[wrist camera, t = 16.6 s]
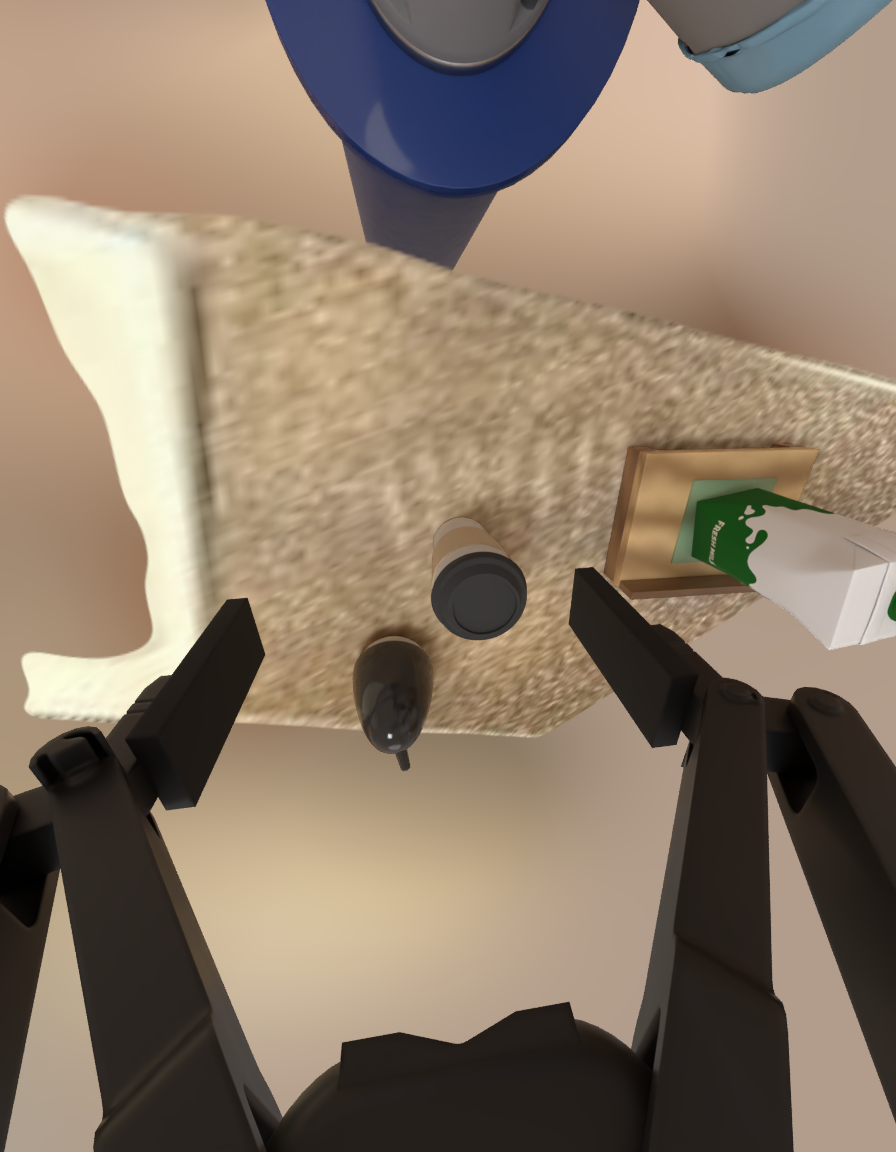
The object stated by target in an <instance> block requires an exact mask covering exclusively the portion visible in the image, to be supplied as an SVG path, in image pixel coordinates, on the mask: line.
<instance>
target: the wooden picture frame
mask: <svg viewBox="0 0 896 1152" xmlns="http://www.w3.org/2000/svg"><path fill="white" fill-rule="evenodd" d="M818 451H819V449H816V448H811V447H806V446H801V445H795V444H790V443H776V444H773V446H772V448H740V449H699V450H658V451H657V450H654V449H651V448H647V447H628V451H627V456H626V461H625V466H624V471H623V476H622V482H621V487H620V492H619V497H618V502H617V507H616V512H615V518H614V523H613V528H612V533H611V538H610V543H609V549H608V554H607V559H606V564H605V569H604V574H605V575H606V576H607V577H608V578H609V579H610V580H611V581H612V582H614V583H615V584H616V585H617V586H618V587H619V588H620V589H621V590H622V591H623V592H624V593H625V594H626V595H627V596H628V597H629V598H630V599H631V600H634V599H649V598H665V597H681V596H697V595H713V594H729V593H745V592H755V591H754V590H752V589H751V588H749V587H747V586H746V585H744V584H743V583H741V582H739V581H738V580H736V579H734V578H733V577H731V576H730V575H728V574H726V573H724V572H722V571H720V570H718V569H716V568H714V567H712V566H710V565H708V564H706V563H704V562H702V561H700V560H698V559H696V558H694V557H692V556H691V555H692V545H693V535H694V525H695V516H696V506H697V501H702V500H706V499H711V498H715V497H719V496H724V495H728V494H733V493H737V492H741V491H746V490H750V489H755V488H760V489H763V490H766V491H769V492H772V493H775V494H778V495H781V496H784V497H787V498H790V499H793V500H796V501H799V498H800V496H801V493H802V491H803V489H804V486H805V484H806V481H807V479H808V476H809V474H810V471H811V469H812V466H813V464H814V461H815V459H816V456H817V454H818Z"/></svg>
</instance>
